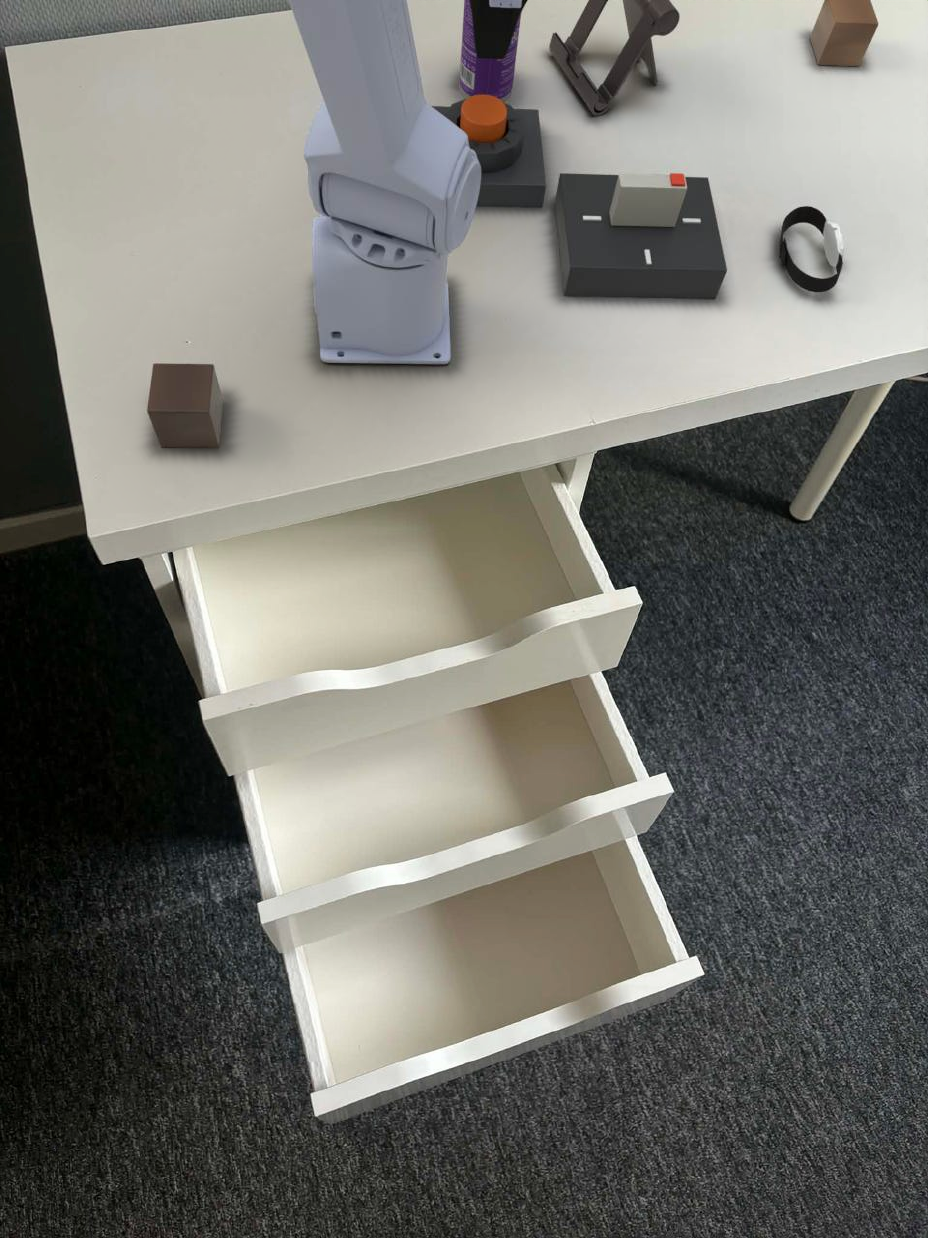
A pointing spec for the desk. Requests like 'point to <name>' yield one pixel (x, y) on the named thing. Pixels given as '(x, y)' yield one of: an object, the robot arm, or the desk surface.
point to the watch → (831, 245)
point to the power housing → (509, 160)
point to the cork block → (843, 32)
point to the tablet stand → (644, 20)
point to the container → (485, 65)
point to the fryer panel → (636, 244)
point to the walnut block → (185, 405)
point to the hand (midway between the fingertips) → (490, 45)
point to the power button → (483, 118)
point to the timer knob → (647, 199)
